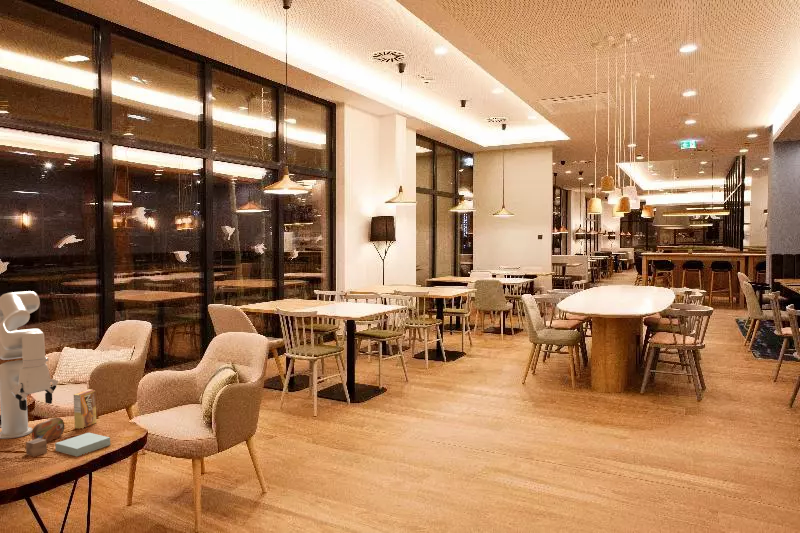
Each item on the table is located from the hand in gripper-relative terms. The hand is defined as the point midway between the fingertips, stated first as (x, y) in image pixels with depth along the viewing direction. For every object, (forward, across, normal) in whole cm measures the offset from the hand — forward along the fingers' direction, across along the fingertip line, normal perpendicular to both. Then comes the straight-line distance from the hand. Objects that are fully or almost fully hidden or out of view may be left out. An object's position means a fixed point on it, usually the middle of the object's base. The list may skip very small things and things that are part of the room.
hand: (36, 406), depth 227 cm
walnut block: (+19, 0, -1) cm, 19 cm away
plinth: (+18, -12, +11) cm, 24 cm away
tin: (+19, -11, -11) cm, 25 cm away
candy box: (+19, -30, -15) cm, 38 cm away
